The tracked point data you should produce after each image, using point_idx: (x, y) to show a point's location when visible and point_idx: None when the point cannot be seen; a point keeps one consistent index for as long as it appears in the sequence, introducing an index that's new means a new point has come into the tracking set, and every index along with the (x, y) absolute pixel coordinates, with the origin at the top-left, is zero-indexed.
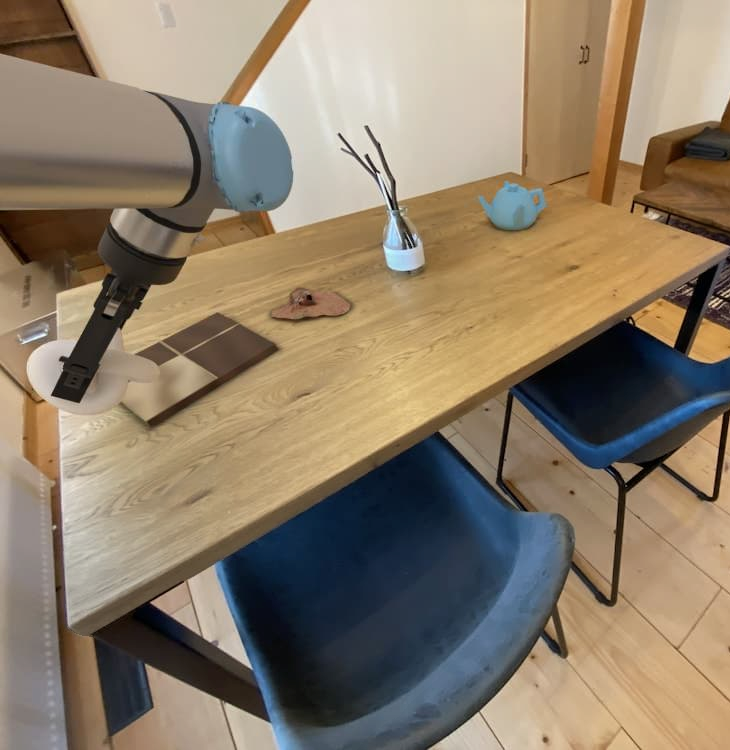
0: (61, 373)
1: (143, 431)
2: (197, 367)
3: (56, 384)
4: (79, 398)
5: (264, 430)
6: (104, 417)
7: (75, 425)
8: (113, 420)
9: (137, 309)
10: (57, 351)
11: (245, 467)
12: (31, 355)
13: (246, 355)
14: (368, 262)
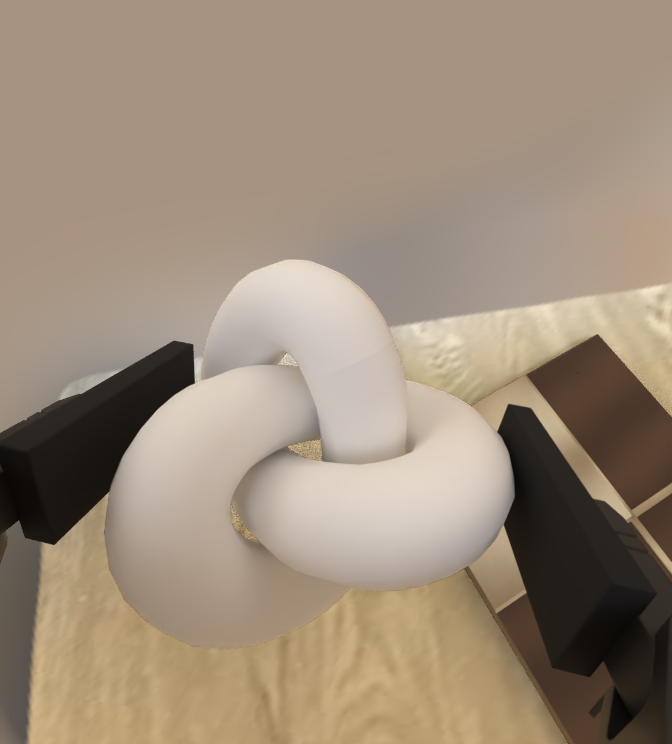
0: (88, 390)
1: None
2: None
3: (137, 363)
4: None
5: (262, 704)
6: (464, 366)
7: (461, 325)
8: (448, 382)
9: (592, 708)
10: (296, 345)
11: (173, 642)
12: (290, 267)
13: (581, 709)
14: None
